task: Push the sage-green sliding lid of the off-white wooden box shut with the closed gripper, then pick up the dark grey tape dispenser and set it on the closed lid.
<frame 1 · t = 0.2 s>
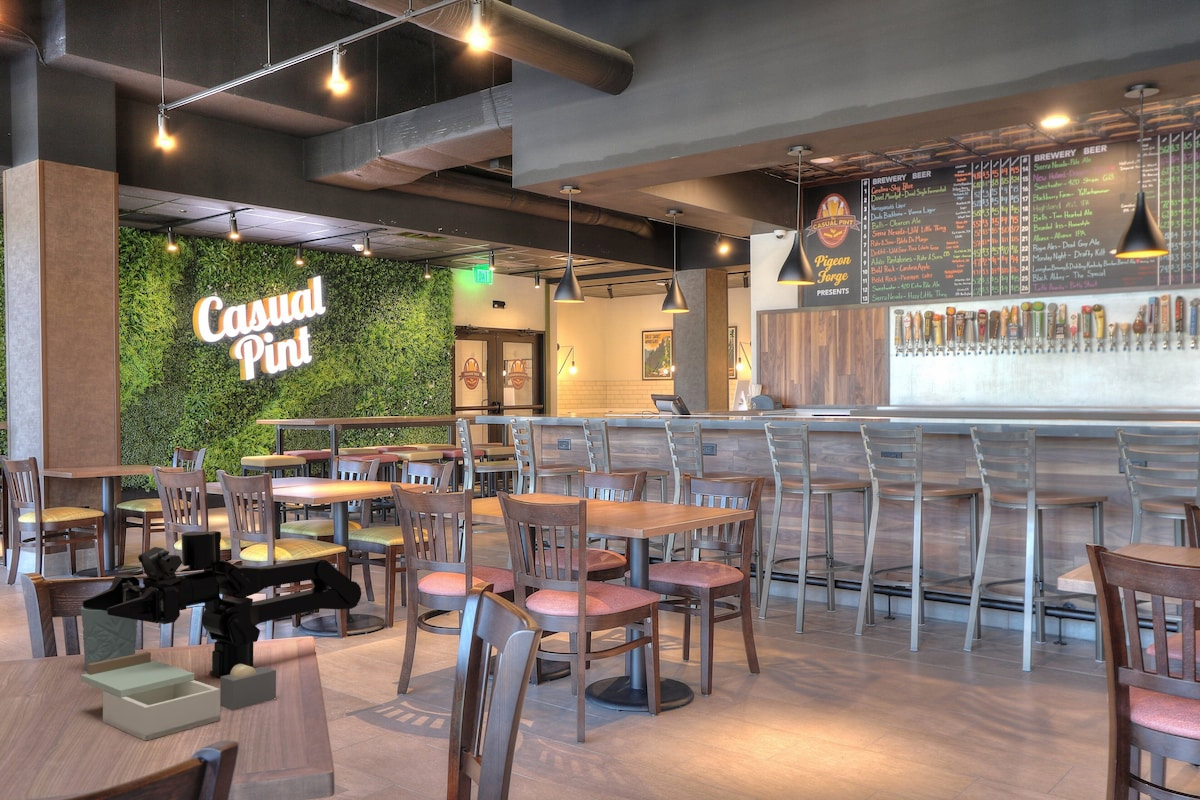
hand: (95, 607, 156), 17 cm above the table, tool horizontal, fingers open, 9 cm apart
grey-green cup: (110, 666, 181), on the table
tape dispenser: (248, 702, 159), on the table
box: (161, 721, 149), on the table
lid: (137, 672, 154), point 6 cm above the table, slide at -8.0 cm
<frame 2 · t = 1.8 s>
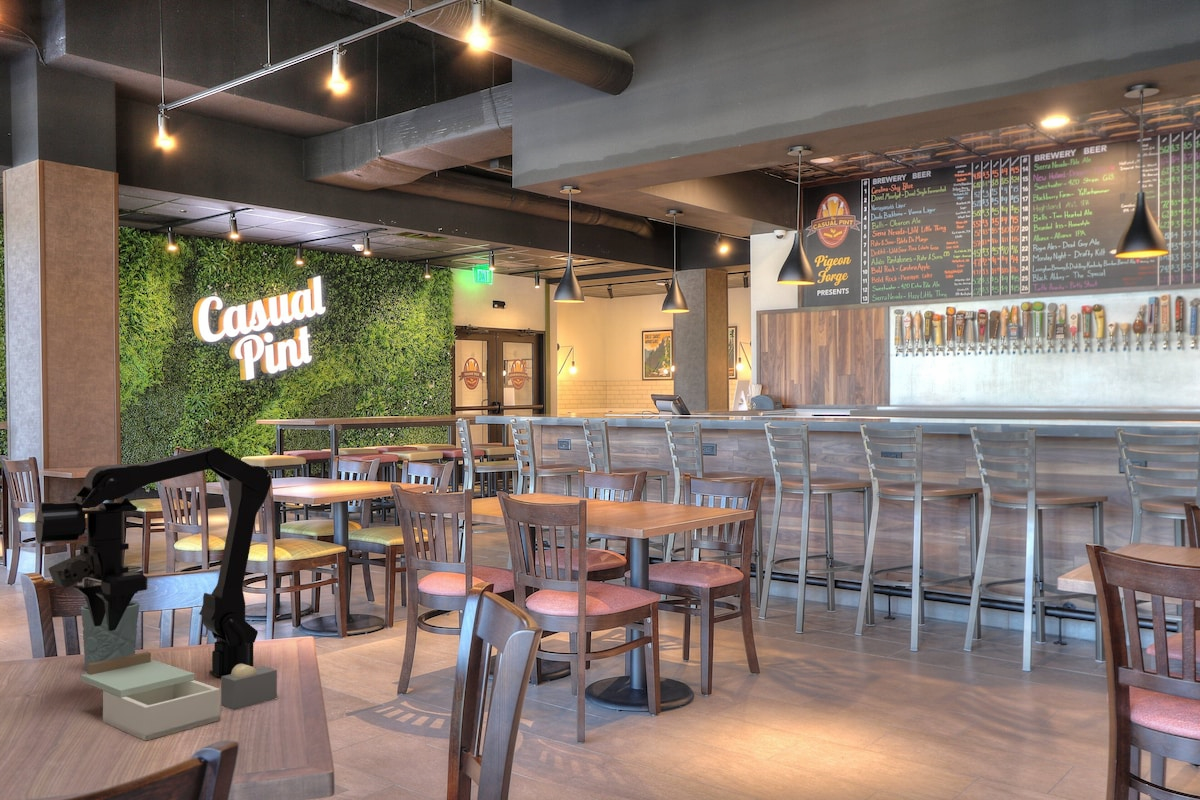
hand: (104, 628, 161), 12 cm above the table, tool pointing down, fingers open, 5 cm apart
nothing on the table moved.
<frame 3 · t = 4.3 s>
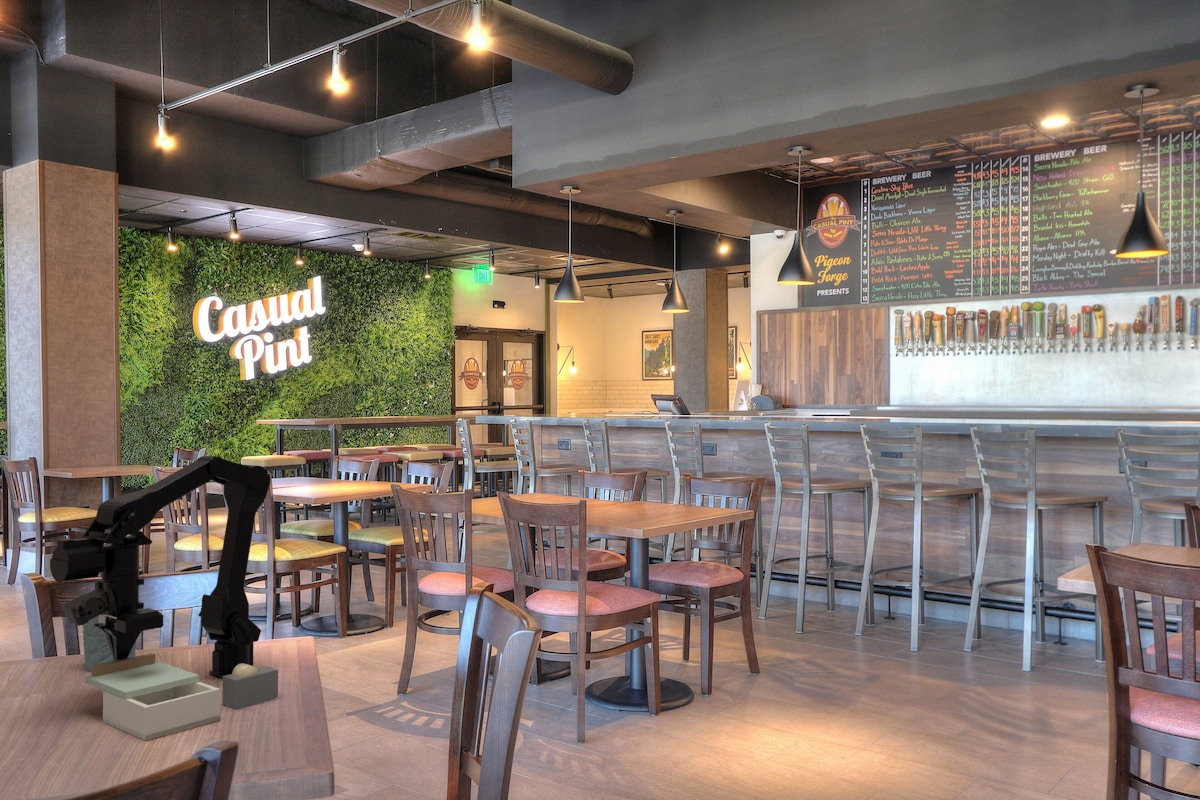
hand: (119, 665, 158), 7 cm above the table, tool pointing down, fingers closed
lid: (142, 674, 153), point 6 cm above the table, slide at -6.4 cm, touching gripper
everything else where it was.
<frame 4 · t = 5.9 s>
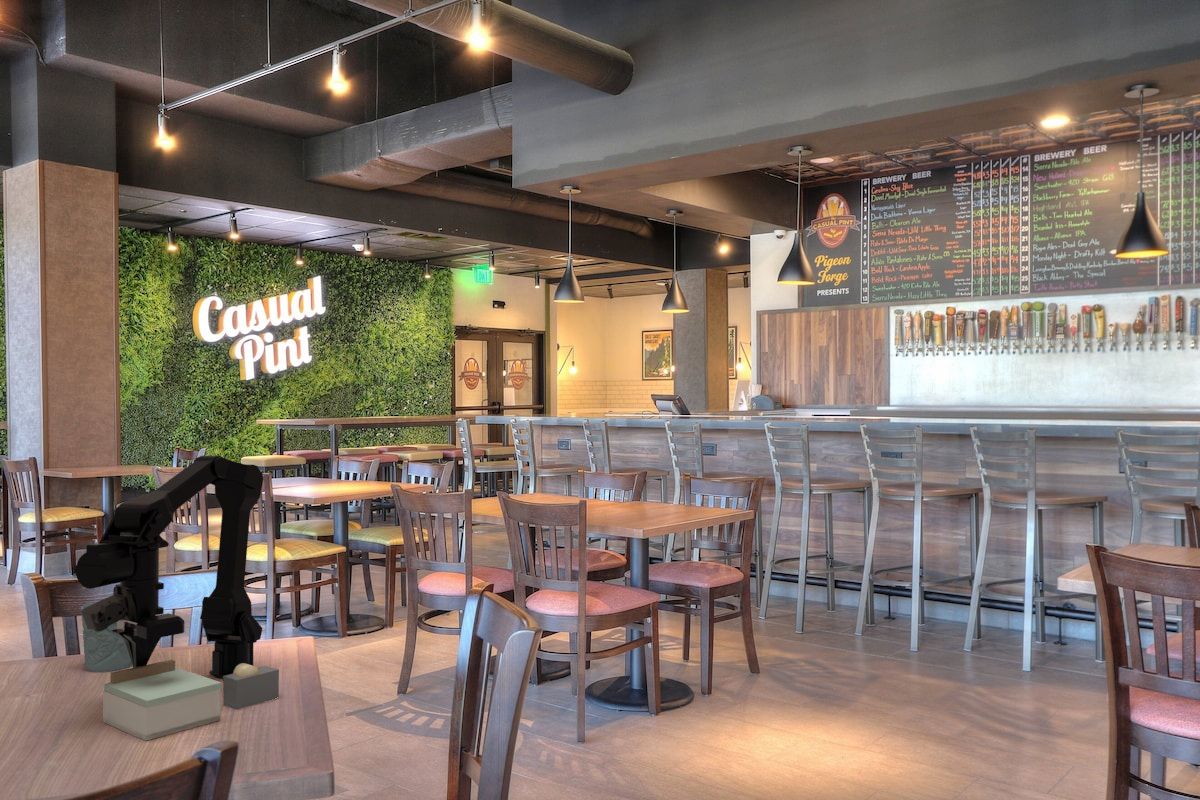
hand: (138, 672, 154), 7 cm above the table, tool pointing down, fingers closed
lid: (162, 681, 149), point 6 cm above the table, slide at 0.3 cm, touching gripper
everything else where it was.
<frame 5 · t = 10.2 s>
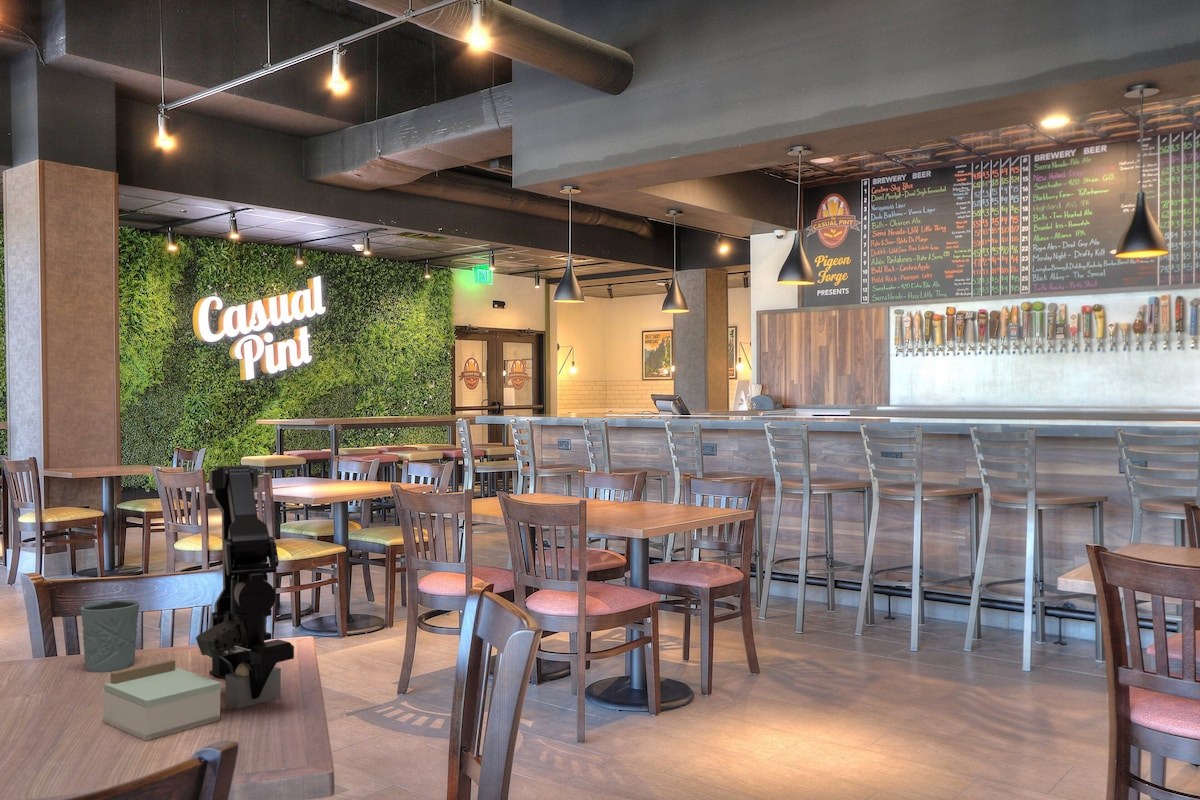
hand: (248, 695, 159), 1 cm above the table, tool pointing down, fingers closed on tape dispenser, 4 cm apart
tape dispenser: (253, 700, 160), on the table, touching gripper
lid: (163, 681, 149), point 6 cm above the table, slide at 0.4 cm
everything else where it was.
when the fingers open (8 cm above the table, at t = 13.7 s): tape dispenser drops 1 cm, resting on lid.
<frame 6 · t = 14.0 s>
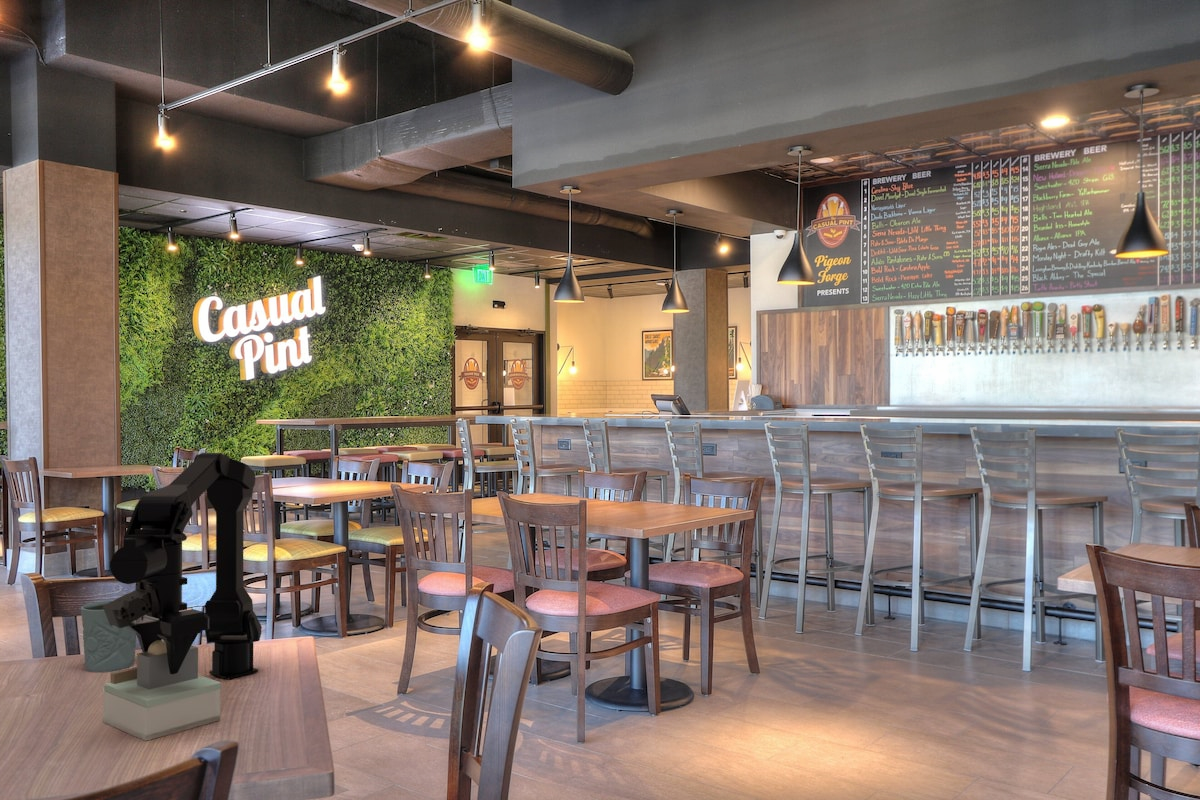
hand: (162, 669, 149), 8 cm above the table, tool pointing down, fingers open, 7 cm apart
tape dispenser: (167, 681, 150), point 6 cm above the table, touching lid
lid: (163, 681, 149), point 6 cm above the table, slide at 0.4 cm, touching tape dispenser
everything else where it was.
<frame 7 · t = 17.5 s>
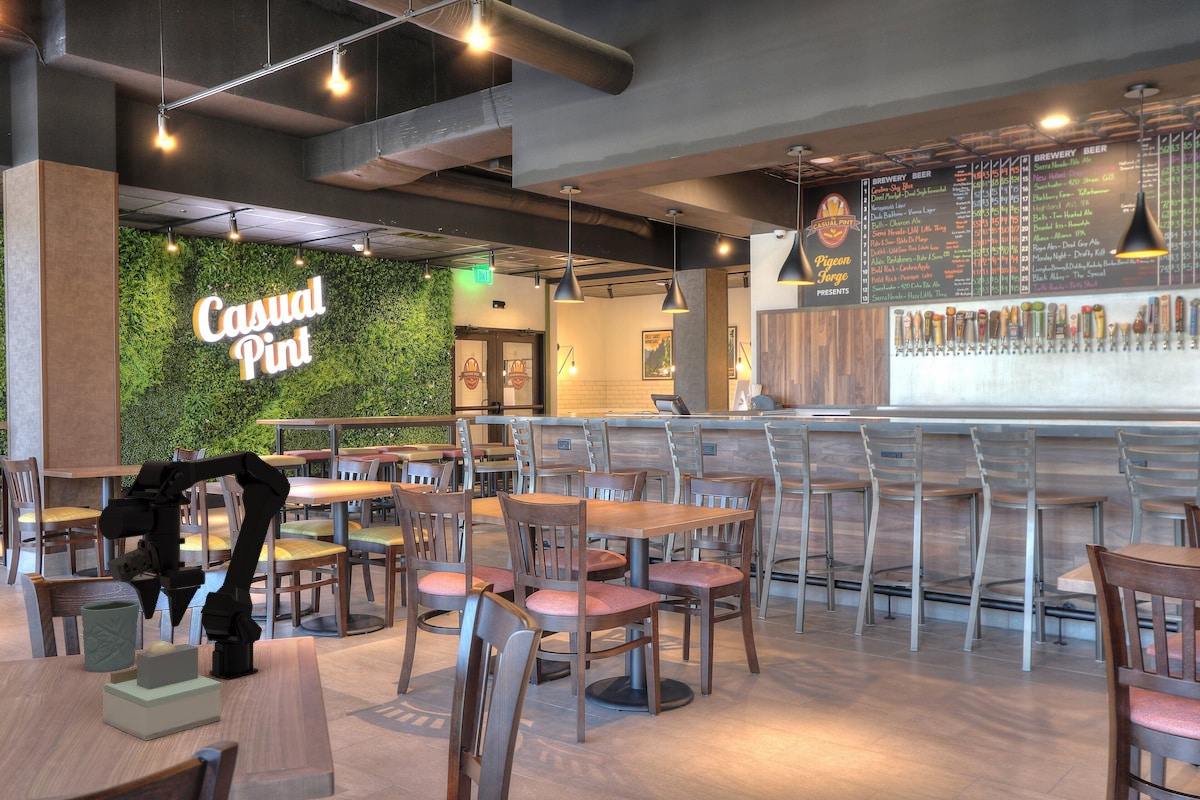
hand: (161, 622, 161), 13 cm above the table, tool pointing down, fingers open, 9 cm apart
nothing on the table moved.
at the end: lid slide at 0.4 cm; tape dispenser inside the target area on the box (1.0 cm from its centre), point 6.1 cm above the box's base; tape dispenser tilted 0° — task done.
